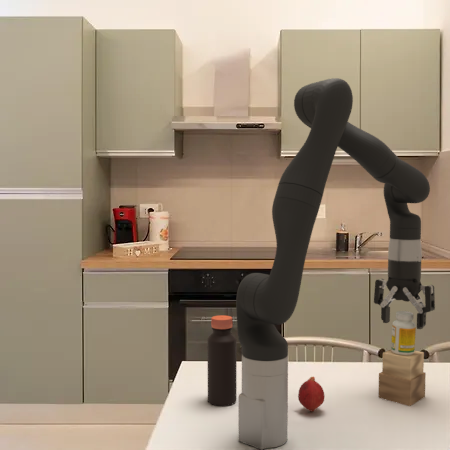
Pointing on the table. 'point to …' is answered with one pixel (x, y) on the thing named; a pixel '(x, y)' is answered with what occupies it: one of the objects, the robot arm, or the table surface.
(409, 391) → the tower base
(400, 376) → the tower top
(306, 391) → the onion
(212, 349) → the vinegar
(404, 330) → the supplement bottle
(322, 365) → the table surface
